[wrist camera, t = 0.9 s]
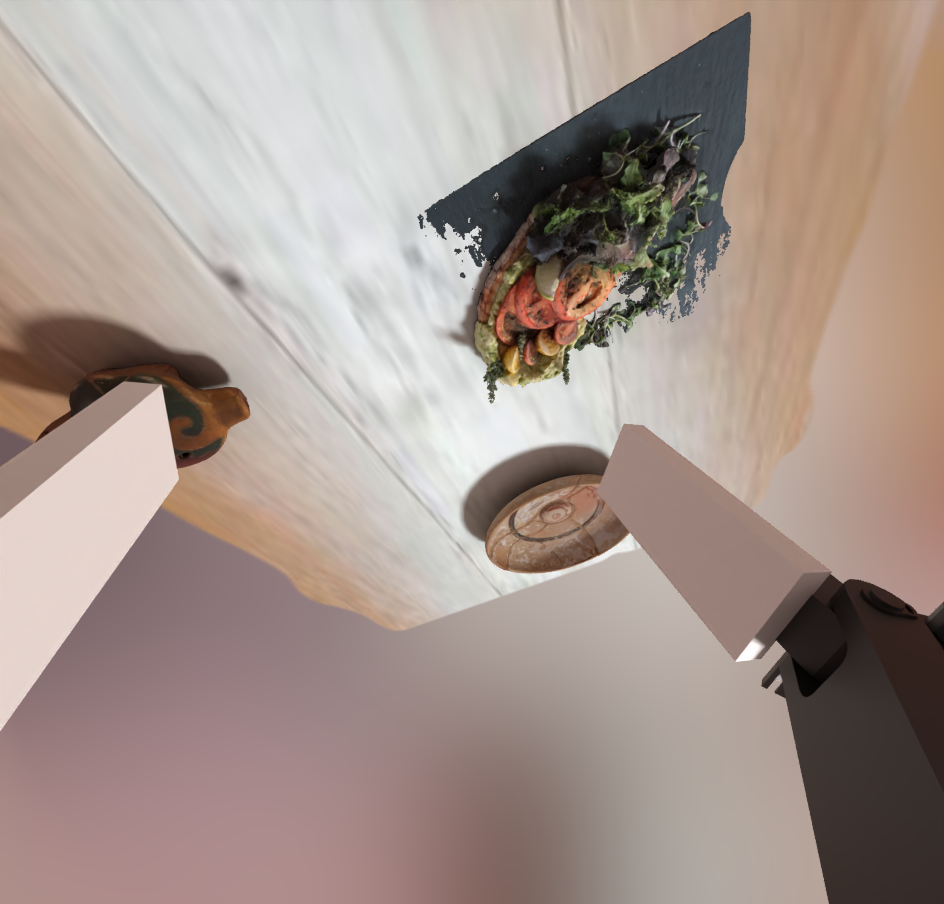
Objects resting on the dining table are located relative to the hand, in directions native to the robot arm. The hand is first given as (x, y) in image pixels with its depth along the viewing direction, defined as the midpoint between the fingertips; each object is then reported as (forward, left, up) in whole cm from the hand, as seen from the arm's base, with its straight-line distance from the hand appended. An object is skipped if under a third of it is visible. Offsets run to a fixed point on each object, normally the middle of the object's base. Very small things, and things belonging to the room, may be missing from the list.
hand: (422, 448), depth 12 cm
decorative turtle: (+25, -9, -26) cm, 37 cm away
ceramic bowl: (+23, +41, -26) cm, 53 cm away
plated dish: (-4, +17, -27) cm, 32 cm away
